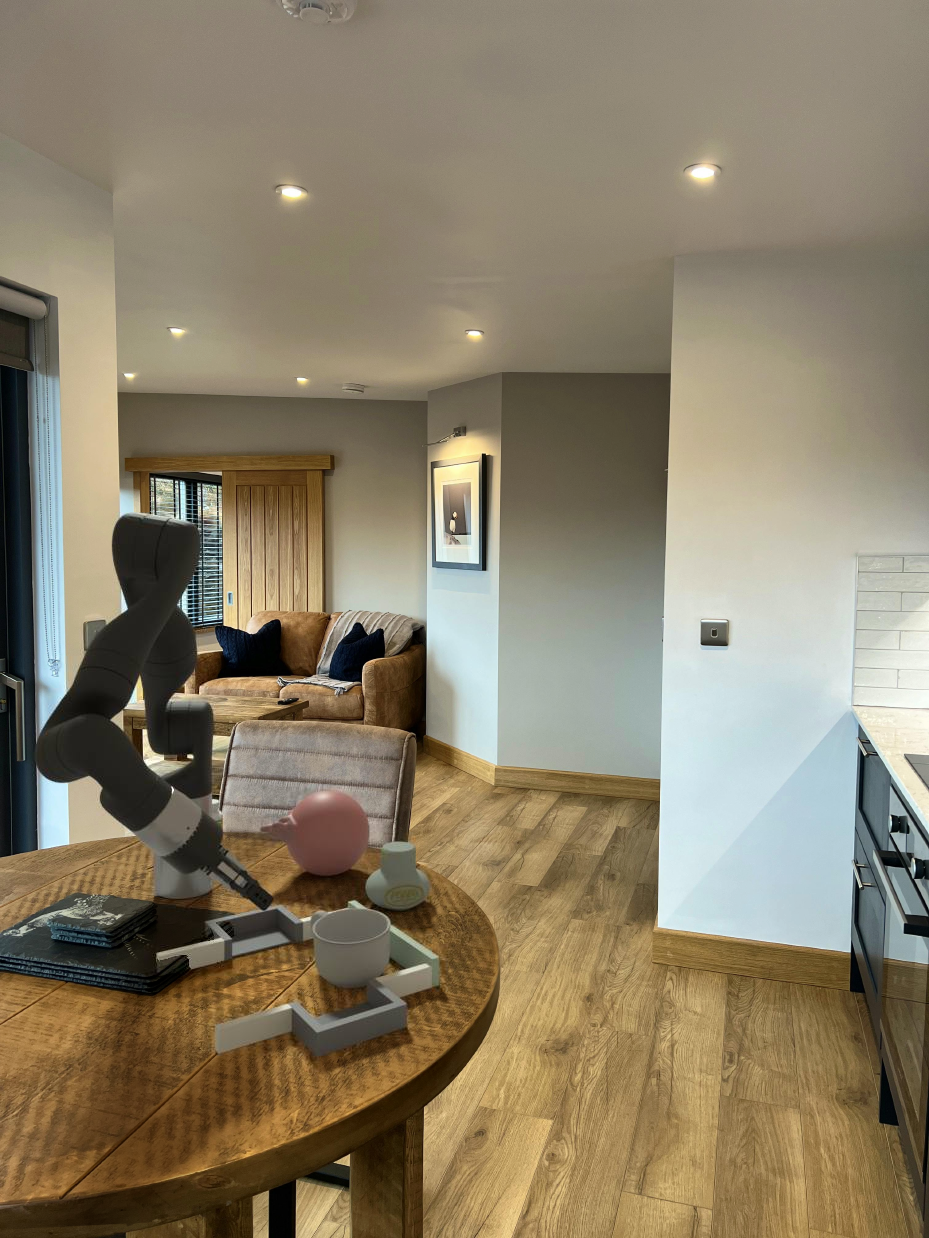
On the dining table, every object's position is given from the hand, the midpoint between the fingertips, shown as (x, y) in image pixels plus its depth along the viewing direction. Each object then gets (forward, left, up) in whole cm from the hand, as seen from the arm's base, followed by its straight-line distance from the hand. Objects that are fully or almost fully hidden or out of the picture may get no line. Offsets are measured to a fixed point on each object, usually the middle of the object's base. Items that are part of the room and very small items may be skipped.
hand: (267, 903), depth 121 cm
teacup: (+10, +3, -12) cm, 16 cm away
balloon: (+3, +44, -12) cm, 46 cm away
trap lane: (+3, +2, -12) cm, 12 cm away
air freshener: (+18, +29, -12) cm, 36 cm away
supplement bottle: (-19, +59, -12) cm, 63 cm away
